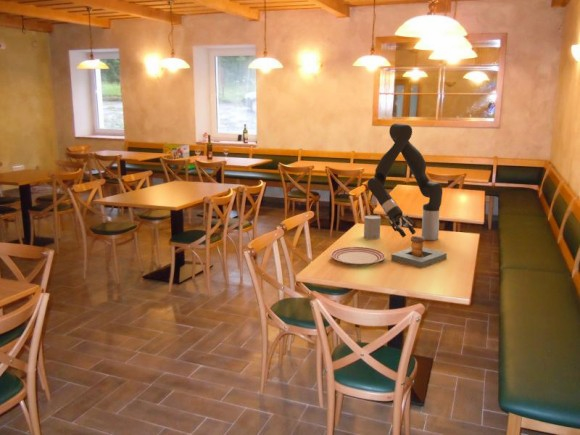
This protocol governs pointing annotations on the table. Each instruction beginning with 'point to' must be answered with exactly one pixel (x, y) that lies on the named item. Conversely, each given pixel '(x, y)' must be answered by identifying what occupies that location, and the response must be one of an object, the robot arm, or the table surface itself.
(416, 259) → the grey rectangular frame
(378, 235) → the speckled tan cylinder
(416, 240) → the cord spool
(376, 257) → the dinner plate
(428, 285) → the table surface
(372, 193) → the robot arm
